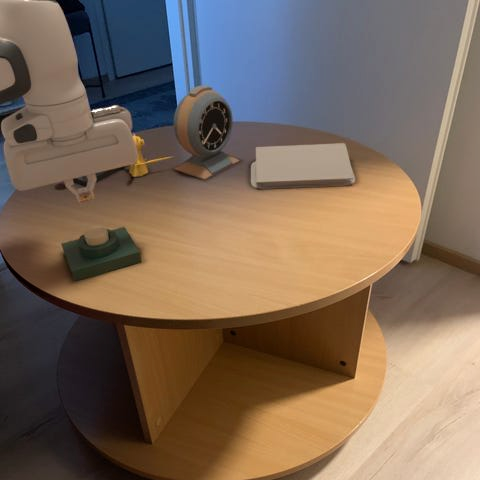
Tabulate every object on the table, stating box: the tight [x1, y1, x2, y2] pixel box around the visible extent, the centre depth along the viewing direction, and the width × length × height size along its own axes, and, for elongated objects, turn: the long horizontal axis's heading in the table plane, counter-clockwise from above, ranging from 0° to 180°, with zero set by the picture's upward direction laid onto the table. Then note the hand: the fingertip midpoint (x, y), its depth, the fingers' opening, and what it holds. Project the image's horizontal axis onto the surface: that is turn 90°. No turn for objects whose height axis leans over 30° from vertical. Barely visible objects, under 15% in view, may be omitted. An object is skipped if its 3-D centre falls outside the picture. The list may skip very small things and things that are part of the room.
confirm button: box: [83, 226, 109, 246], centre depth 89 cm, size 4×4×2 cm
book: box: [250, 142, 356, 190], centre depth 114 cm, size 15×23×4 cm, turn 89°
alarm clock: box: [173, 85, 241, 181], centre depth 115 cm, size 14×10×18 cm
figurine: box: [128, 132, 175, 178], centre depth 117 cm, size 12×12×9 cm
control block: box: [61, 226, 143, 282], centre depth 91 cm, size 12×10×4 cm
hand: (85, 199), depth 85 cm, fingers closed
